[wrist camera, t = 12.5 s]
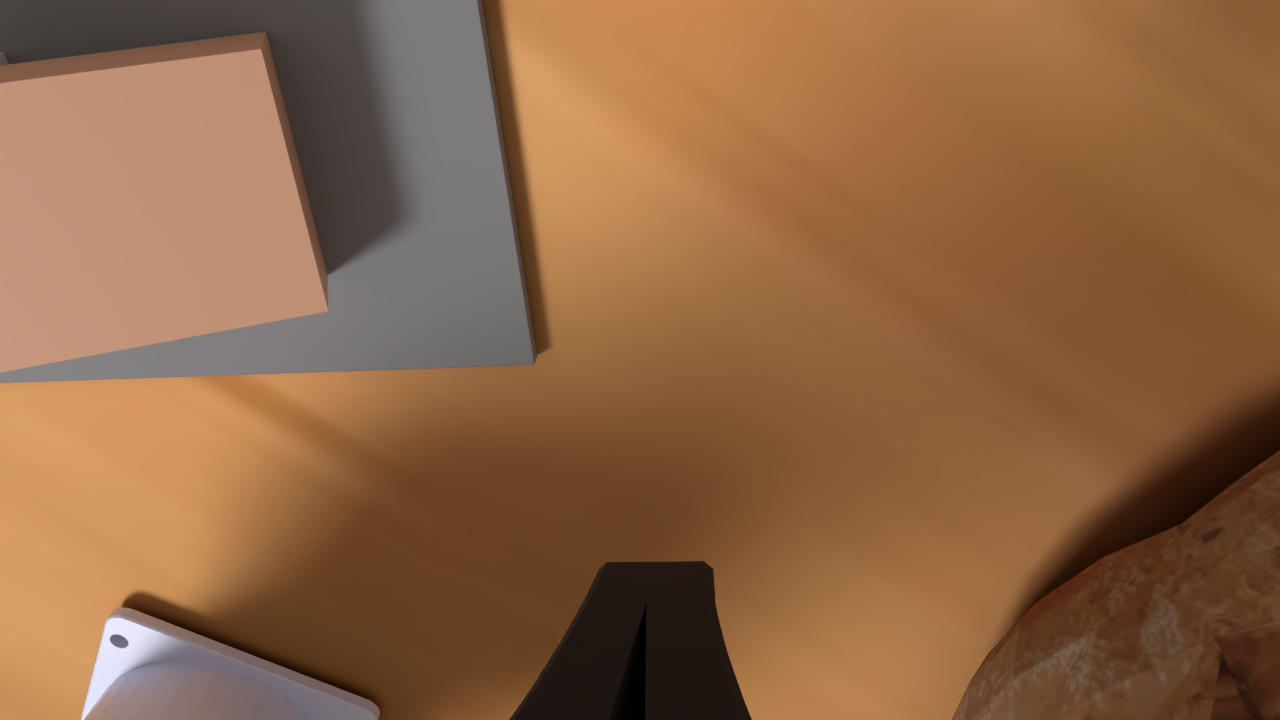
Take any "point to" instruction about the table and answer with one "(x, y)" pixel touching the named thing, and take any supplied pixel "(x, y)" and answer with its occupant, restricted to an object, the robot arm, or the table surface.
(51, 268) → the domino
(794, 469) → the table surface
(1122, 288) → the table surface
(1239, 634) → the bread
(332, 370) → the mat
